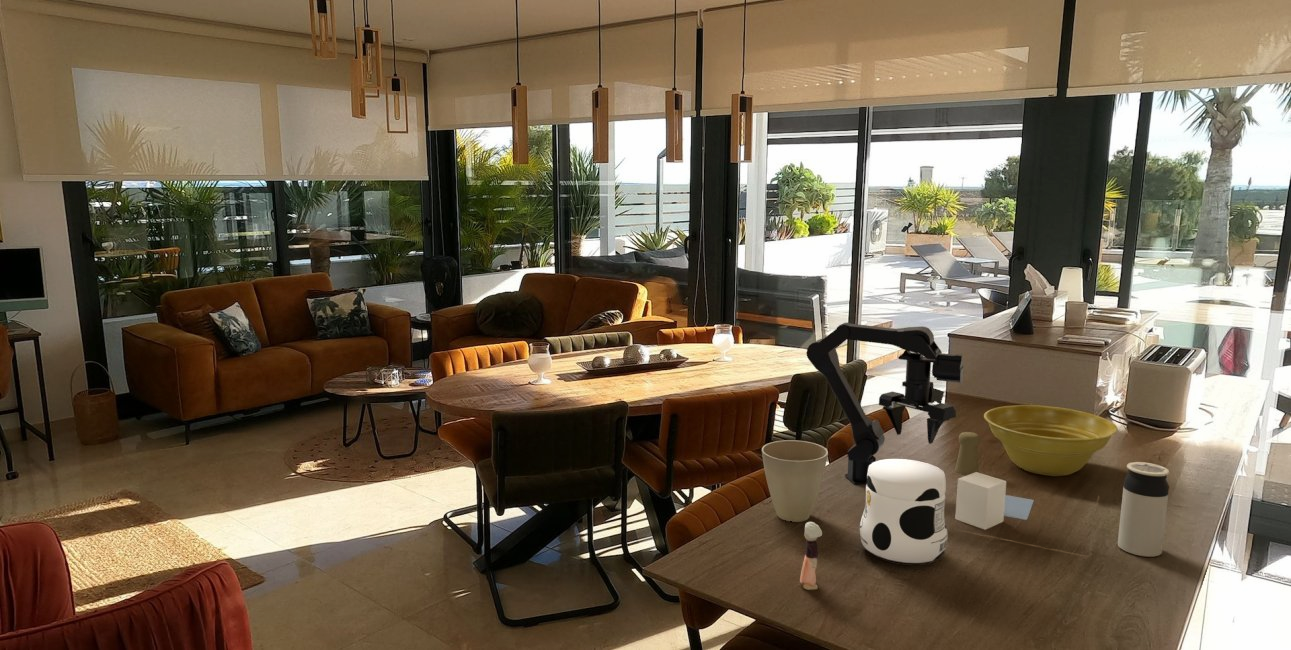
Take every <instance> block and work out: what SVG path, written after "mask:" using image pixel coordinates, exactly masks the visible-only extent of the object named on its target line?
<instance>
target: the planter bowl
mask: <svg viewBox="0 0 1291 650" xmlns="http://www.w3.org/2000/svg"><path fill="white" fill-rule="evenodd" d="M983 418H984V420H985V421H986V422H987V423H988V426H989V429H990V431H991V433H992V435H994V437H995V438H996V439H998V440H999V441H1000V442H1001V443H1002V445H1003V448H1004V450H1005V452H1006V453H1007V456H1008V457H1009V459H1010V460H1011V462H1012V463H1013V464H1014V465H1016V466H1017V467H1018V468H1020V469H1021V468H1022V469H1021V470H1023V469H1024V471H1025V472H1029V473H1033V474H1037V475H1044V476H1049V477H1052V476H1053V477H1054V476H1055V477H1061V476H1064V477H1065V476H1069V475H1072V474H1074V473H1076V472H1078V471H1080V470H1081V469H1082V468H1083V467H1084V466H1085V465H1086V464H1087V463H1088V461H1089V460H1090V459H1091V458H1092V457H1093V456H1092V455H1094V453H1096V452H1097V451H1100V450H1102V449H1103V448H1105V447H1106V445H1107V444H1108V443H1109V441H1110V439H1111V437H1113V436H1114V435H1116V434H1117V433H1118V431H1119V429H1118V427H1117V425H1116V424H1115V423H1113V422H1112V421H1110V420H1109V419H1106V418H1104V417H1102V416H1099V415H1095V414H1092V413H1089V412H1085V411H1080V410H1076V409H1072V408H1065V407H1057V406H1047V405H1035V404H1033V405H1030V404H1027V405H1026V404H1022V405H1021V404H1020V405H1016V404H1015V405H1005V406H999V407H994V408H991V409H989V410H987V411H986V412H984V414H983Z"/></svg>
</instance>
